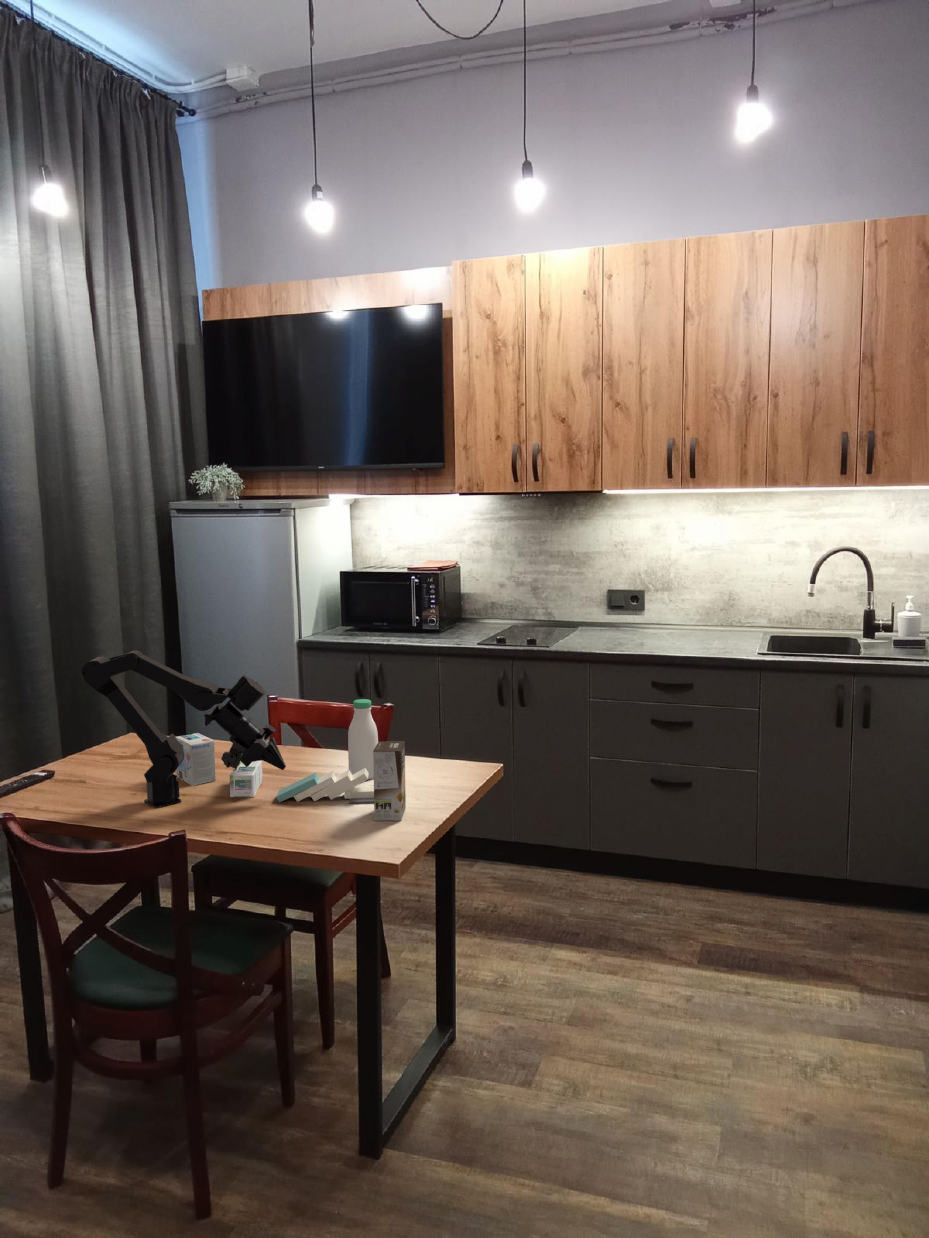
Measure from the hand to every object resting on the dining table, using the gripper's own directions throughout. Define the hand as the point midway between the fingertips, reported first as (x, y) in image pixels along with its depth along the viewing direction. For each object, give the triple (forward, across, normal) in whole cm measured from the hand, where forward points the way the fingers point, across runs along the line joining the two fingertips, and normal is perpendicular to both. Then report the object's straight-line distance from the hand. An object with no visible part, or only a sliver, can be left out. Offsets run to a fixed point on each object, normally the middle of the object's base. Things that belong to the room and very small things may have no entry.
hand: (284, 768), depth 227 cm
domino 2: (+7, 0, -3) cm, 7 cm away
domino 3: (+10, 0, 0) cm, 10 cm away
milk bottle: (+18, -17, +7) cm, 26 cm away
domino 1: (+4, 0, -6) cm, 7 cm away
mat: (+20, 0, +9) cm, 22 cm away
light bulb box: (-12, -19, -23) cm, 32 cm away
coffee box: (+23, +13, +12) cm, 30 cm away
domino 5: (+14, 0, +6) cm, 16 cm away
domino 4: (+12, 0, +3) cm, 13 cm away
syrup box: (-4, -16, -11) cm, 20 cm away
